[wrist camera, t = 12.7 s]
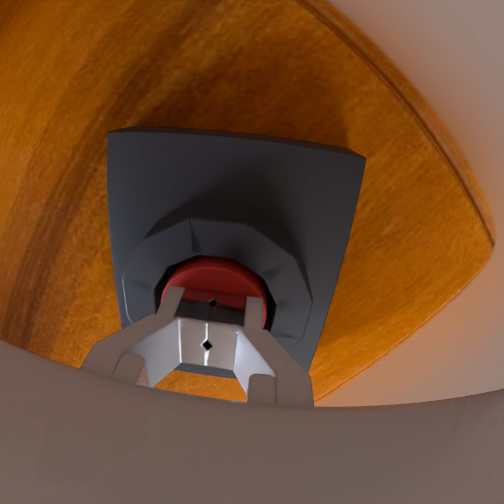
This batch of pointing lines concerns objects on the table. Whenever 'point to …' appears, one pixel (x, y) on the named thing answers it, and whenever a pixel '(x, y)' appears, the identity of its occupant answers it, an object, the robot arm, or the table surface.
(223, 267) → the button
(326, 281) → the button block
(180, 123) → the table surface
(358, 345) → the table surface
